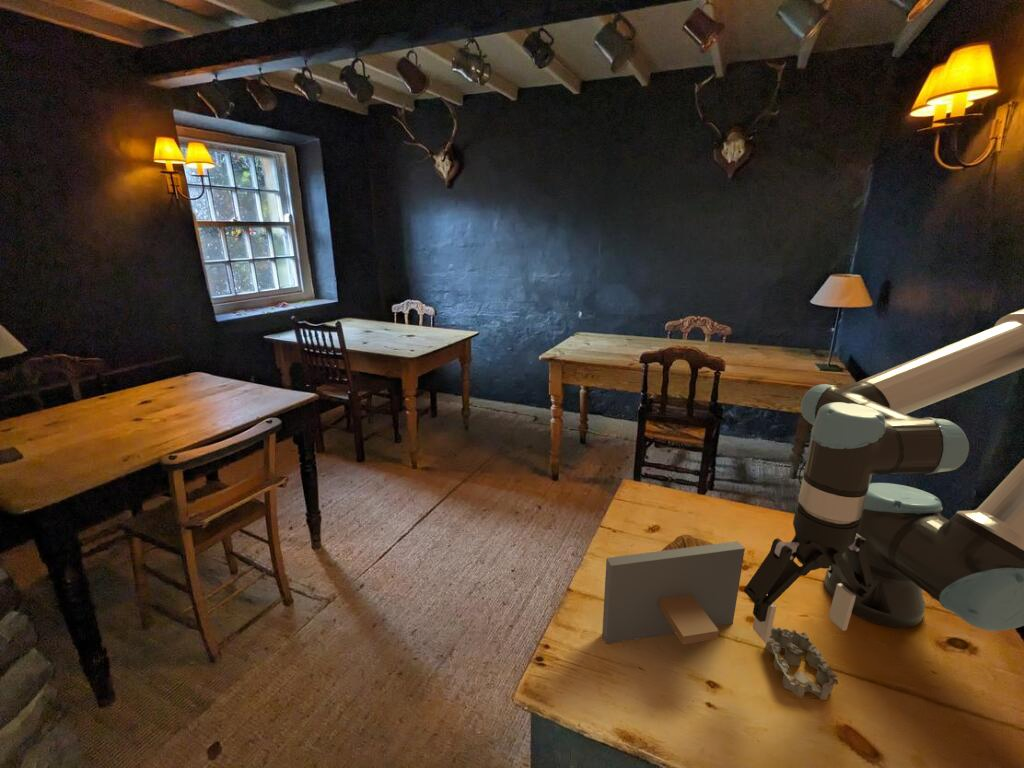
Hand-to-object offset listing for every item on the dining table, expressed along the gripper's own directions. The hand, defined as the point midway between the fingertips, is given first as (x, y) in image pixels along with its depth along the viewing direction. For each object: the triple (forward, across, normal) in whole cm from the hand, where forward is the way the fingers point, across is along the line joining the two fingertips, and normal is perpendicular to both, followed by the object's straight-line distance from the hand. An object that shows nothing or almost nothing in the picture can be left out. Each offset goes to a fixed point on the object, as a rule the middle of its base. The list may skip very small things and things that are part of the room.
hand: (799, 629), depth 72 cm
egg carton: (+8, -1, 0) cm, 8 cm away
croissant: (+8, +1, -29) cm, 30 cm away
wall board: (+8, +15, -7) cm, 19 cm away
